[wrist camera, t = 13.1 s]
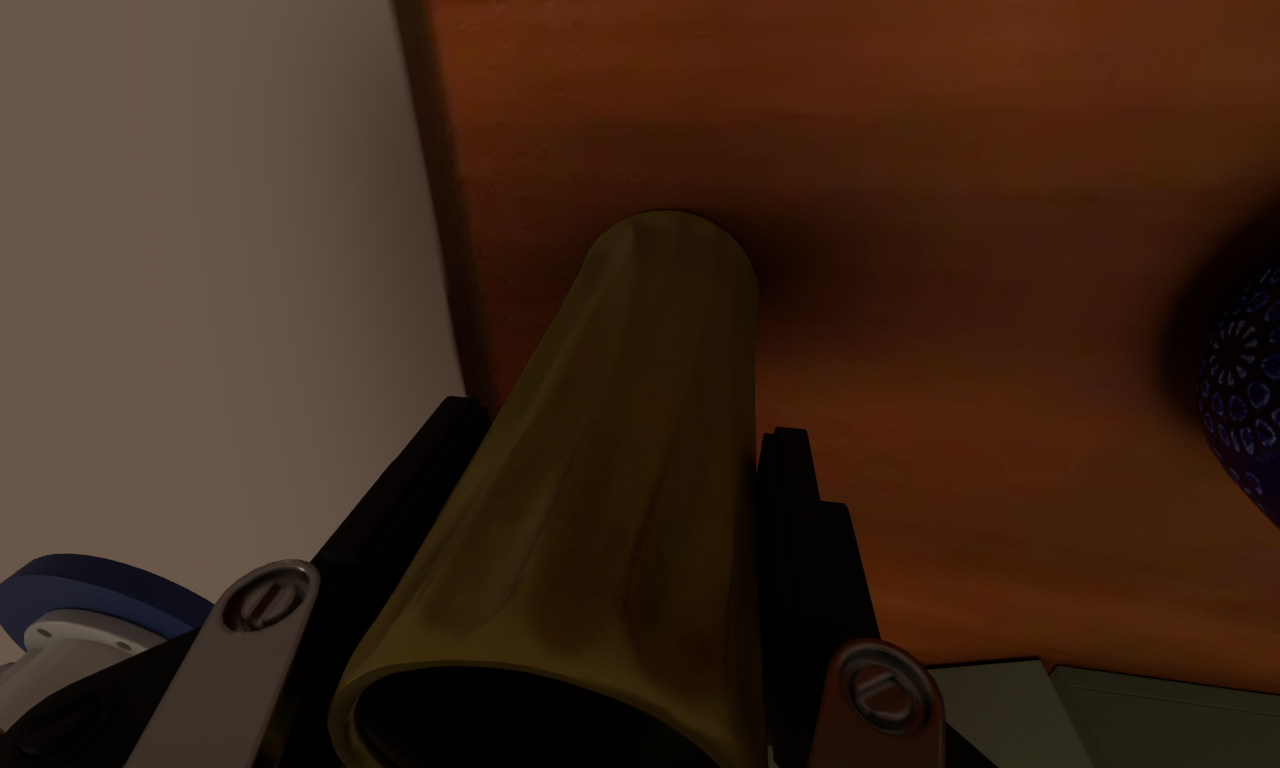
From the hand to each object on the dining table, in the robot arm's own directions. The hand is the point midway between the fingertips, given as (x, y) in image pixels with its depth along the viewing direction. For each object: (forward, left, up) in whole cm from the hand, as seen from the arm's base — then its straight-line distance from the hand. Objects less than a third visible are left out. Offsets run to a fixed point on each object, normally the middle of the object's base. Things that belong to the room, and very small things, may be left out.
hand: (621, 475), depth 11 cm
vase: (0, 0, -9) cm, 9 cm away
